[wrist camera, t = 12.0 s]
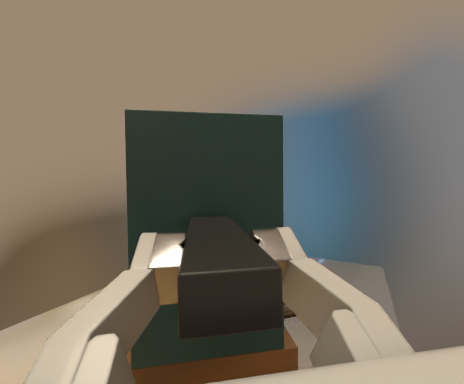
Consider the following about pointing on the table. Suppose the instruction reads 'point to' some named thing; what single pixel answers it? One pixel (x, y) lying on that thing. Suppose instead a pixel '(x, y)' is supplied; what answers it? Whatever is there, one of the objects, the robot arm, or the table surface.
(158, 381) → the riser
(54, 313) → the table surface
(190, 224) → the lever
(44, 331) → the table surface
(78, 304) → the table surface
